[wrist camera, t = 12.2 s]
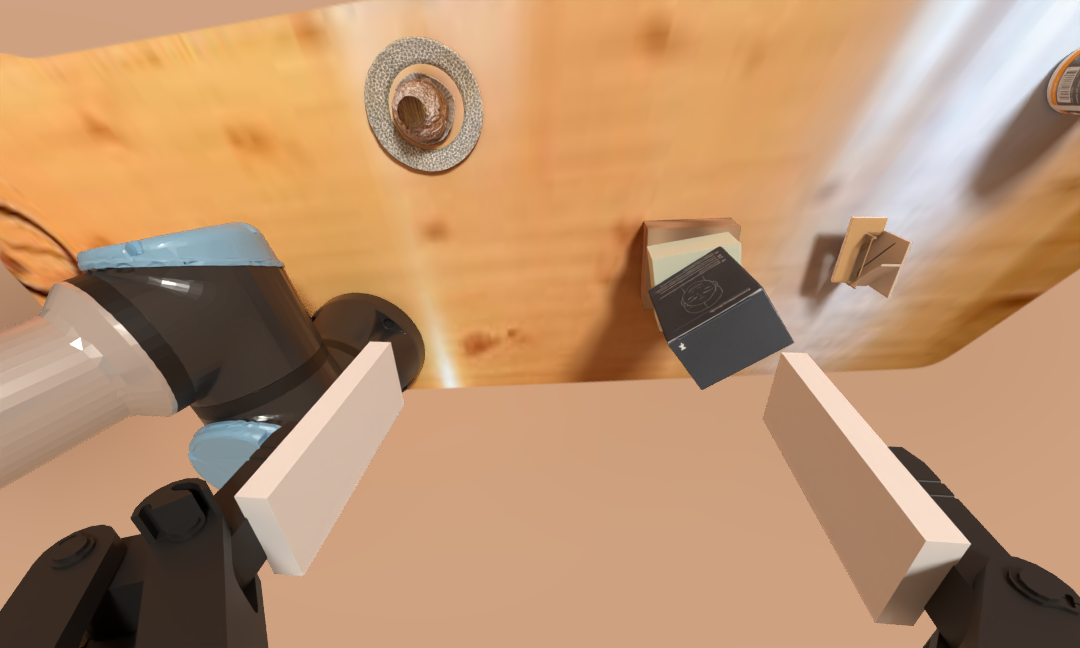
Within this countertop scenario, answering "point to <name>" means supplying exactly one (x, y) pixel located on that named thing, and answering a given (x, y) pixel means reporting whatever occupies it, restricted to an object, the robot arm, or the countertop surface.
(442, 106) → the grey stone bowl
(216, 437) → the robot arm
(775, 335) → the box
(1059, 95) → the pill bottle
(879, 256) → the architectural model
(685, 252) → the tower top
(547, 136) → the countertop surface
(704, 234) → the tower base
